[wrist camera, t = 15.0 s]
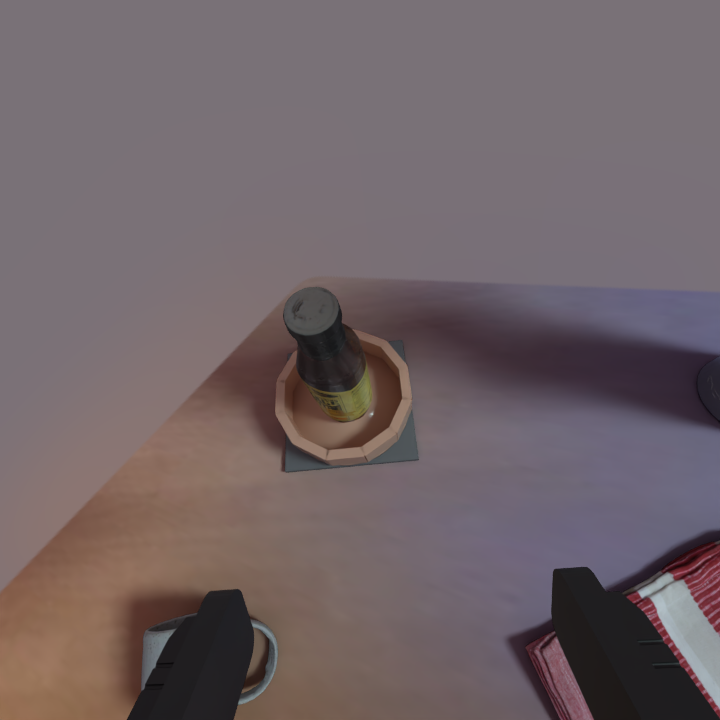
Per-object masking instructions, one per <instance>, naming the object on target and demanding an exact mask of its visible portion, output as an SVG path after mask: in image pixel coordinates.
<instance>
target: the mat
mask: <svg viewBox="0 0 720 720" xmlns="http://www.w3.org/2000/svg"><path fill="white" fill-rule="evenodd" d="M388 343H389V344H390V345H391V347H392V348H393V349H394V350H395V351H396V353H397V354H398V355H399V356H400V357H401V358H402V360H403V361H404V362H405V356H404V349H403V342H402V340H398V341H389V342H388ZM292 354H293V353H290V354H288V360H289V359H290V357H291V355H292ZM415 460H419V458H418V450H417V443H416V436H415V429H414V421H413V414H412V410H411V413H410V415H409V417H408V420H407V423H406V426H405V428H404V430H403V432H402V434H401V435H400V438H399V440H397V442H396V443H394V444H393V445H392V446H391V447H390V448H389V449H388V450H387V451H386V452H384V453H383V454H381V455H380V456H378V457H377V458H375V459H372V460H371V461H369V462H367V463H361V464H357V465H349V466H341V465H335V466H332V465H329V464H327V463H325V462H323V461H320V460H318V459H316V458H314V457H313V456H311V455H309V454H307V453H305V452H303V451H301V450H300V449H298V448H297V447H296V446H295V445H293V444H292V442H291V440H290V439H289V437H288V435H287V433H286V458H285V472H297V471H308V470H319V469H329V468H340V467H351V466H361V465H372V464H383V463H393V462H404V461H415Z"/></svg>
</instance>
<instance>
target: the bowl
mask: <svg viewBox="0 0 720 720" xmlns="http://www.w3.org/2000/svg"><path fill="white" fill-rule="evenodd" d="M353 331H354V332H355V333H356V335H357V336H358V338H359V340H360V342H361V345H362V349H363V352H364V354H365V358H366V363H367V368H368V373H369V378H370V383H371V388H372V401H371V404H370V407H369V409H368V411H367V412H366V413H365V415H364V416H363V417H361V418H360V419H357V420H355V421H352V422H346V423H342V422H339V421H336V420H334V419H332V418H330V417H328V416H327V415H326V414H325V413H324V412H323V411H322V409H321V408H320V406H319V405H318V403H317V402H316V400H315V399H314V398H313V396H312V394H311V393H310V391H309V390H308V388H307V386H306V385H305V384H304V382H303V381H302V379H301V377H300V376H299V374H298V371H297V368H296V358H297V350H296V351H294V352H293V354H292V355H291V357H290V359H289V360H288V362H287V364H286V365H285V367H284V369H283V370H282V372H281V374H280V375H279V377H278V379H277V381H276V405H275V414H276V416H277V418H278V420H279V422H280V423H281V425H282V427H283V428H284V430H285V432H286V433H287V435H288V437H289V439H290V440H291V442H292V444H293V445H295V446H296V447H297V448H298V449H300V450H301V451H303V452H305V453H307V454H309V455H311V456H313V457H314V458H316V459H318V460H320V461H323V462H325V463H327V464H329V465H332V466H335V465H341V466H349V465H357V464H361V463H367V462H369V461H371V460H372V459H375V458H377V457H378V456H380V455H381V454H383V453H384V452H386V451H387V450H388V449H389V448H390V447H391V446H392V445H393V444H394V443H396V442H397V440H399V438H400V435H401V434H402V432H403V430H404V428H405V426H406V423H407V420H408V417H409V415H410V413H411V410H412V394H411V387H410V380H409V373H408V366H407V364H406V363H405V362H404V361H403V360H402V358H401V357H400V356H399V355H398V354H397V353H396V351H395V350H394V349H393V348H392V347H391V345H390V344H389V343H388V342H387V341H386V340H384V339H381V338H378V337H375V336H373V335H370V334H367V333H364V332H362V331H359V330H355V329H354V330H353Z"/></svg>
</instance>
